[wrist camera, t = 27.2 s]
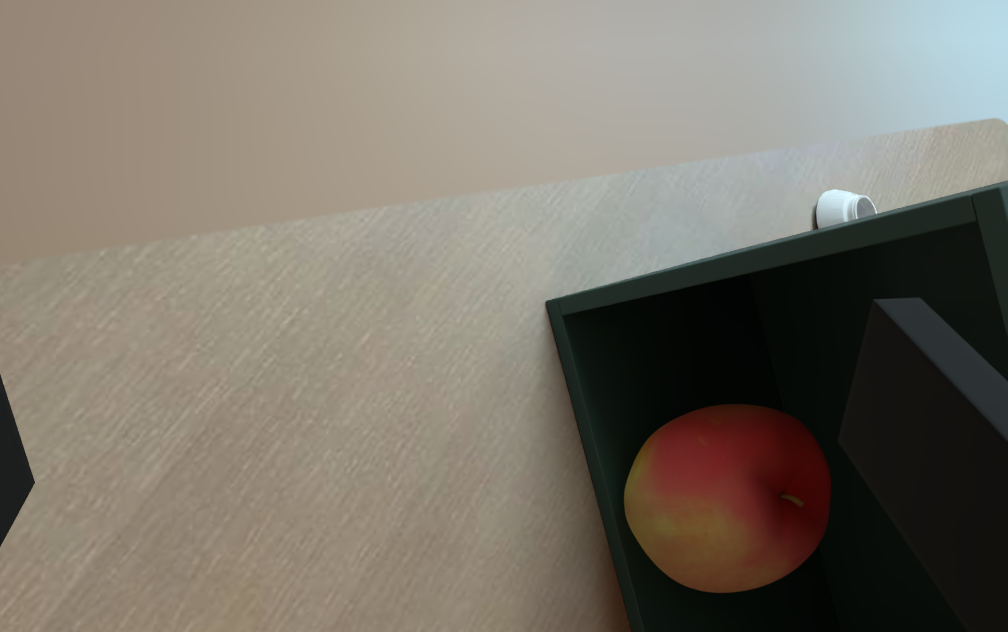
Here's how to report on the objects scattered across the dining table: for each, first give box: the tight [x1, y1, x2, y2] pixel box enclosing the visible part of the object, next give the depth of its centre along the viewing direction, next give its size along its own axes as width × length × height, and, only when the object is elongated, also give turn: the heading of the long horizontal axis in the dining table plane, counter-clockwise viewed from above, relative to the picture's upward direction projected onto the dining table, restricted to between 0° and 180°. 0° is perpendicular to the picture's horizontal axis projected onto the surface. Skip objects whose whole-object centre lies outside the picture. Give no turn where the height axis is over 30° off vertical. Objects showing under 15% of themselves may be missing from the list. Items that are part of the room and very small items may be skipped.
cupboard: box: [546, 181, 1008, 632], centre depth 45 cm, size 18×28×24 cm, turn 19°
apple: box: [624, 404, 831, 593], centre depth 46 cm, size 10×10×10 cm
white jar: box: [816, 189, 877, 229], centre depth 67 cm, size 5×3×5 cm
